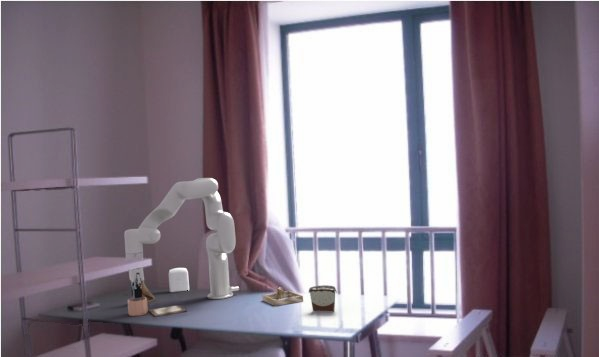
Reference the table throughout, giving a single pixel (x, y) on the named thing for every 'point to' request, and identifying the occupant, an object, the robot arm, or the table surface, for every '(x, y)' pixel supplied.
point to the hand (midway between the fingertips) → (137, 296)
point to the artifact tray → (294, 298)
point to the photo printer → (178, 279)
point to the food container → (323, 298)
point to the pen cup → (137, 307)
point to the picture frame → (167, 310)
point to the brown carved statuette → (147, 293)
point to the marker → (134, 295)
